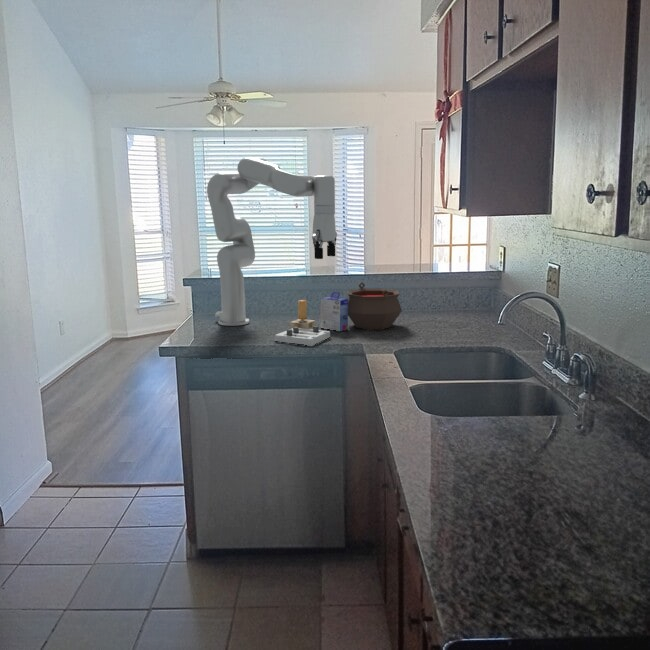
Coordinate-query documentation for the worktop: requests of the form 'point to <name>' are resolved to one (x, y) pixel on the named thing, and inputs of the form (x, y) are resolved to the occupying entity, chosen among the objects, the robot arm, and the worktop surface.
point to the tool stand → (303, 324)
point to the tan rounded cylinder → (302, 310)
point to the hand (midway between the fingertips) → (325, 257)
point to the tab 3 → (316, 329)
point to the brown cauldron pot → (373, 307)
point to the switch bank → (303, 337)
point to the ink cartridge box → (334, 313)
